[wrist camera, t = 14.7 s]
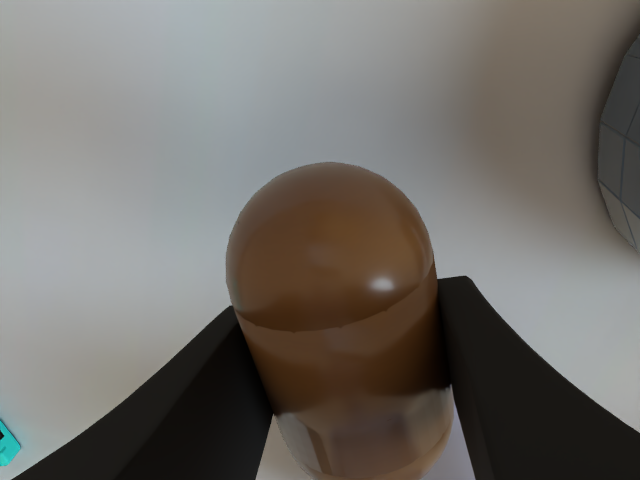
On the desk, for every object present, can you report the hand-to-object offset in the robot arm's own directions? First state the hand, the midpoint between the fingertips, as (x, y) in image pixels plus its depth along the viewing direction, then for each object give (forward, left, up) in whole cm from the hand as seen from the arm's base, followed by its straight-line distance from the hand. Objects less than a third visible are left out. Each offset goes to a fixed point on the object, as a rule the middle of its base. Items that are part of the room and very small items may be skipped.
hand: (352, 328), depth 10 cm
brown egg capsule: (0, 0, -2) cm, 2 cm away
